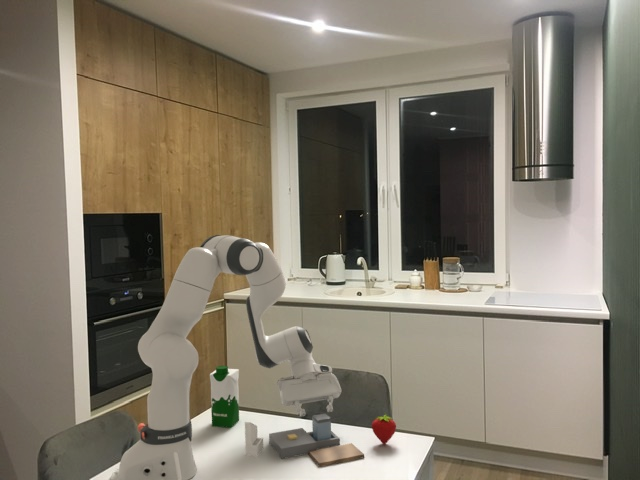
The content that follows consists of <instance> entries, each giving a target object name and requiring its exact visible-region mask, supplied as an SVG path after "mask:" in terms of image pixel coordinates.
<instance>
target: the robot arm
mask: <svg viewBox="0 0 640 480" xmlns="http://www.w3.org/2000/svg"><path fill="white" fill-rule="evenodd" d="M221 273H224V274H229V275H237V276H245V278H246V280H247V283H248V284H249V285H248V286H249V288H250V289H249V291H250V292H249V295H248V296H247V297H246V302H245V306H246V312H247V317H248V321H249V326H250V330H251V335H252V340H253V344H254V355H255V357H256V361H257V363H258V365H260V366H261V367H264V368H267V369H272V368H274V367H276V366H278V365H280V364H282V363H285V362H288V363H289V369H290V370H289V371H290V374H291V376H287V377H281V378H280V379H278V380H277V382H276V385H277V388H278V390H279V395H280V402H281V405H282V406H284V407H289V406H293V408H294V409H295V411H297V412H298V414H299V417H300V418H301V417H305V416H306V415H307V414H306V410H305V408H302V407H301V406H300V405H301V404H307V403H314V402H315V403H316V402H319V401H326V402H327V403H328V404H327V406H326V410H327V413H331V412H333V411H334V408H333V403H334V399H338V398H339V397H340V395H341V394H342V388H341V385H340V382H339V379H338V378H337V376H336V375H335V374H334V373H333V368H332V366H330V365H326V364H325V365H324V364H319V363H316V361H315V359H314V358H313V348H314V346H313V343H312V340H311V336H310V333H309V331H308V330H307V329H305V328H304V327H302V326H299V325H296V326H292V327H288V328H287V329H284V330H281V331H279V332H276V333H274V334H271V335H266V334H265V328H264V324H263V321H262V317H263V316H264V314H265V312H266V311H268V310H269V308H271V307H272V306H273V305H275V304H276V303H277V302H278V301H279V300H280V299H281V298H282V296H283V295H284V293H285V289H286V279H285V276H284V272H283V270H282V268H281V265H280V263H279V261H278V259H277V258H276V255H275V254H274V252H273V251H272V249H271V248H270V247H269V245H268V244H266V243H264V242H260V241H259V242H257V241H256V242H254V241H252V240H250V239H248V238H242V237H238V236H235V235H227V234H226V235H221V234H215V235H211V236H209V237H208V238H206V239H205V240H204V241H202V243H201V245H199V246H198V247H197V246H196V247H192V248H190V249H188V251H186V253H185V254H184V256H183V257H182V259H181V261H180V263H179V265H178V267H177V269H176V272H175V274H174V276H173V279H172V281H171V284H170V286H169V289H168V291H167V294H166V296H165V298H164V301H163V304H162V306H161V308H160V310H159V312H158V314H157V315H156V317H155V319H154V320H153V321H152V322H151V325H150V327H149V328H148V330H147V331H146V332H145V333H144V334H143V335H142V336H141V337H140V339H139V340H138V344H137V352H138V354H139V357H140V359H141V361H142V362H143V363H144V364H145V365H146V366H147V367H149V368H151V372H152V380H151V386H150V391H149V393H148V394H147V398H146V403H147V404H146V405H147V408H146V409H147V424H145V423H144V422H142V423H139V424H138V425H137V431H138V432H139V437H140V439H139V440H138V441H137V442H136V443H134V444H133V445H132V446H131V447H130V448H129V449H127V450H126V451H125V452H124V453H123V455H122V457H121V459H120V463H119V467H118V468H117V469H116V470H115V471H114V472H113V473H112V474H111V477H110V480H191V478H193V477H194V476H195V475H196V474H197V473H198V472H197V471H198V468H197V465H196V462H195V458H194V454H193V446H192V440H193V425H192V420H191V419H190V418H191V416H190V391H191V390H190V389H191V384H192V379H193V375H194V372H195V371H196V370H197V368H198V365H199V360H200V357H199V353H198V350H197V349H196V348H195V346H194V345H193V343H192V342H191V341H190V340H189V339H188V338H187V337H188V335H189V334H190V333H191V331H192V329H193V328H194V326H195V325H197V323H198V322H200V321H201V319H202V317H203V315H204V312H205V309H206V306H207V304H208V301H209V298H210V296H211V292H212V290H213V287H214V284H215V280H216V279H217V277H218V276H219V274H221Z"/></svg>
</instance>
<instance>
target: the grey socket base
mask: <svg viewBox="0 0 640 480" xmlns="http://www.w3.org/2000/svg"><path fill="white" fill-rule="evenodd" d="M268 435H269V436H268V442H269V445H270V446H271V448H273V450H274V451H275V453H276V454H277V455H278V457H279V458H280V459H281V460H283V459H288V458H292V457H298V456H303V455H307V454H308V455H309V451H314V450H319V449H324V448H329V447H334V446H340V445H341V444H340V443H341V441H340V440H341V439H340V437H339V436H337V434H335V433H334V432H333V431H332V430H331V439H326V440H320V441H315V440H314V439H313V431H309V432H307V431H306V430H305V429H304V428H303V427H299V428H293V429H289V430H282V431H276V432H271V433H268Z"/></svg>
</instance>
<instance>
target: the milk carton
mask: <svg viewBox="0 0 640 480" xmlns="http://www.w3.org/2000/svg"><path fill="white" fill-rule="evenodd" d="M239 374H240V369H238V368H229V366H227V365H219V366H216V367H215V370H214V371H213V372H210V374H209V380H210V402H211V403H210V405H211V409H210V412H211V426H212V427H215V428H216V427H217V428H228V429H229V428H230V429H231V428H232V427H234V426H235V425H236V424H237V423H238V422H239V421H240V407H239V406H240V401H239V400H240V397H239V395H240V394H239V392H240V391H239V377H240V375H239Z"/></svg>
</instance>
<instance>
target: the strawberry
mask: <svg viewBox="0 0 640 480" xmlns="http://www.w3.org/2000/svg"><path fill="white" fill-rule="evenodd" d="M396 429H397V423H396V422H395V421H394V419H393V418H392V417H391V416H387V414H386V413H384V415H382V416H377V417H375V419H373V421H372V423H371V430H372V432H373V434H374V435H375V436H376V437H377V439H378V440H379V441H380V442H381V444H383V445H385V444H387V443H388V442H389V441H390V440H391V439H392V437H393V436H394V434H395V433H396Z"/></svg>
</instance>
